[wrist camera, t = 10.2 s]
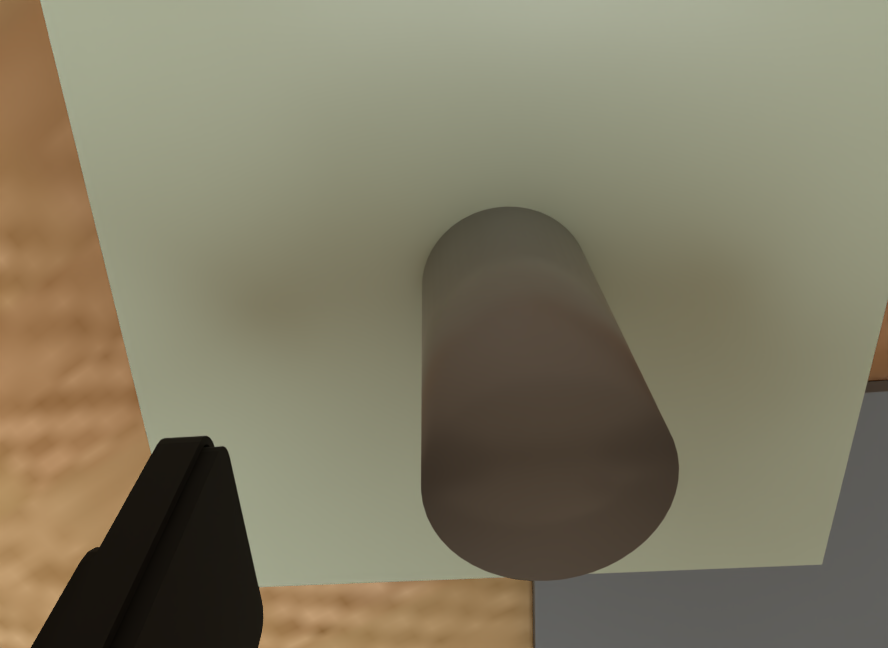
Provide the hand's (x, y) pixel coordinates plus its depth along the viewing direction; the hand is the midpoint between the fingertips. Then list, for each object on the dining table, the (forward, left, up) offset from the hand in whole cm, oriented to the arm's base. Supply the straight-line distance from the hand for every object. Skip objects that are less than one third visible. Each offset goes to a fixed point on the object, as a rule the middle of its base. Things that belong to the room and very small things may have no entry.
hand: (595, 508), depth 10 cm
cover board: (0, +1, -7) cm, 7 cm away
